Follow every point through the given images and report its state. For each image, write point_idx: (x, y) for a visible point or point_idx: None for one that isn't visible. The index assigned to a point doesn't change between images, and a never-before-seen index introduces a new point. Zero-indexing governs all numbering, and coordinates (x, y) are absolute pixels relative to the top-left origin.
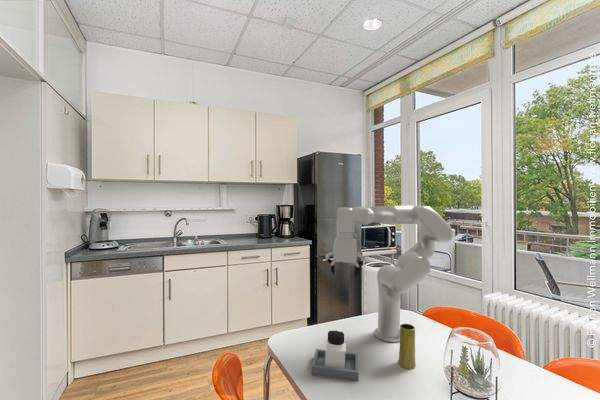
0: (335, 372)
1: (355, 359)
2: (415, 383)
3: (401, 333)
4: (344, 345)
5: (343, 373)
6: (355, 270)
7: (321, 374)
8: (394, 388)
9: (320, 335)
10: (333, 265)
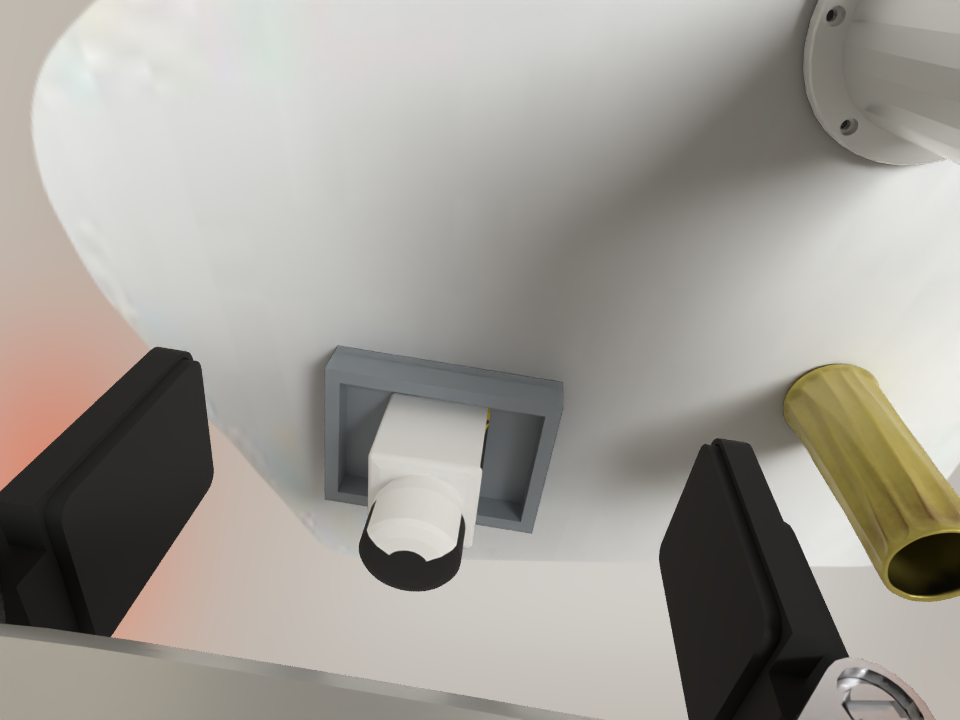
0: None
1: (537, 453)
2: None
3: (861, 541)
4: (470, 507)
5: None
6: (689, 674)
7: None
8: None
9: (339, 77)
10: (56, 626)
